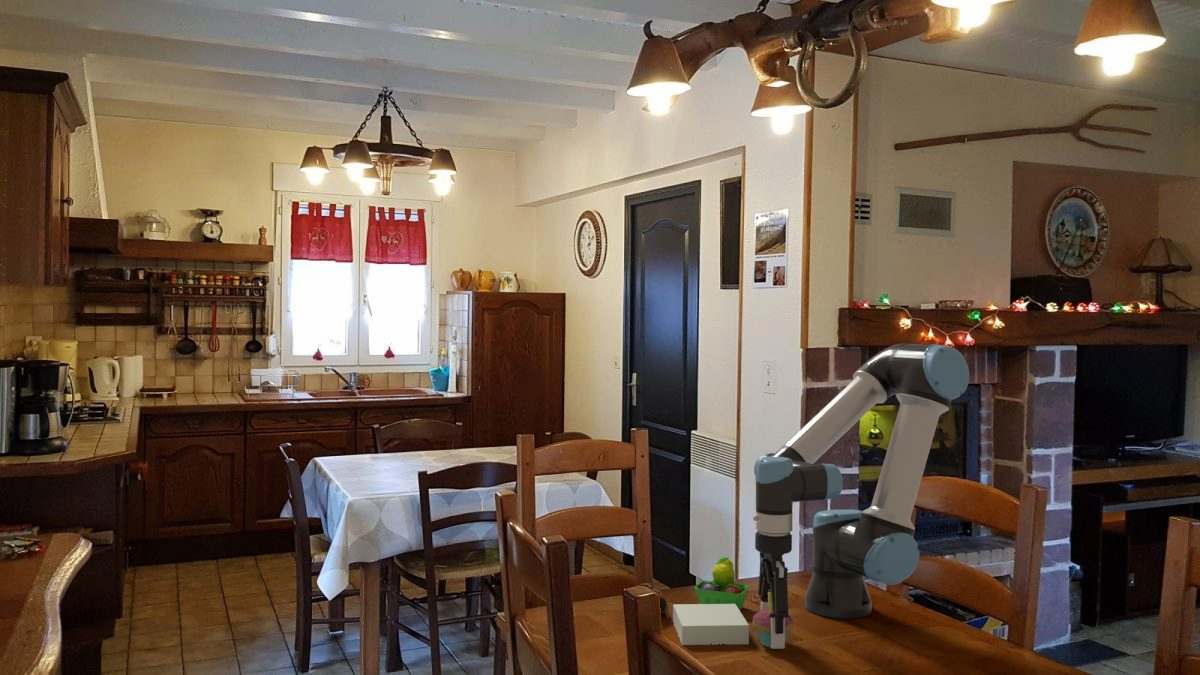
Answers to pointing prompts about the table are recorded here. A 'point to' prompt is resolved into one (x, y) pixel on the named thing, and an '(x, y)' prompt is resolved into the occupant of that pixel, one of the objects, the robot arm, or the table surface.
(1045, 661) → the table surface
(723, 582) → the fruit basket
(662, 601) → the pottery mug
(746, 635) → the sage stand
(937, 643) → the table surface
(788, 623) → the cupcake
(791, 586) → the table surface
